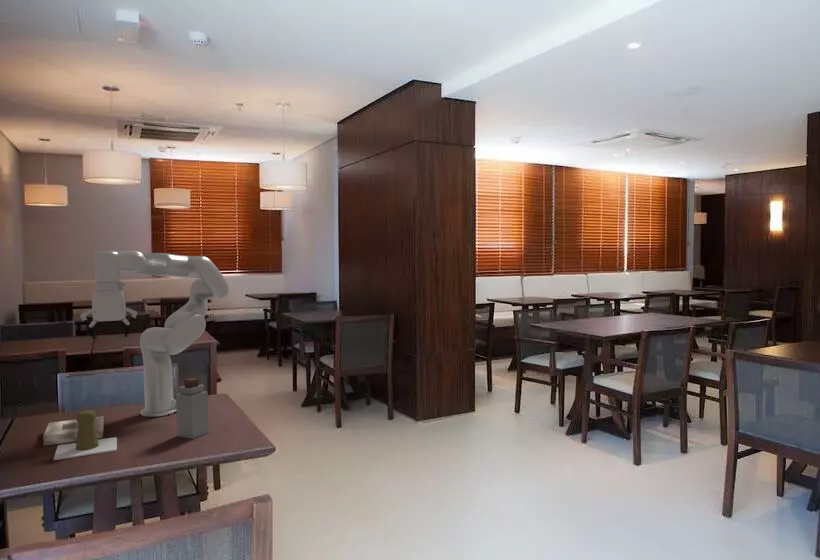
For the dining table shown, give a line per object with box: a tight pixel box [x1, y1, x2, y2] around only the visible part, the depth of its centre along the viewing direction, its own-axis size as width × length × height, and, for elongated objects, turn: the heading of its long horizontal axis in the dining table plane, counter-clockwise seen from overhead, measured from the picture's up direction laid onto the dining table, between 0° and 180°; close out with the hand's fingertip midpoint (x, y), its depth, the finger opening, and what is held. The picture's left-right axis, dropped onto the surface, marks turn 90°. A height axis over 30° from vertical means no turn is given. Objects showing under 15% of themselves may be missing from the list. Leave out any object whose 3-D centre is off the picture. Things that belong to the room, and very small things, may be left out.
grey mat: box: [53, 437, 118, 461], centre depth 172 cm, size 16×13×1 cm
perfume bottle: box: [175, 377, 210, 440], centre depth 185 cm, size 7×7×18 cm
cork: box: [75, 409, 99, 450], centre depth 172 cm, size 6×6×11 cm
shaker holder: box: [42, 415, 105, 447], centre depth 187 cm, size 16×16×3 cm
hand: (110, 337), depth 195 cm, fingers open, 9 cm apart
